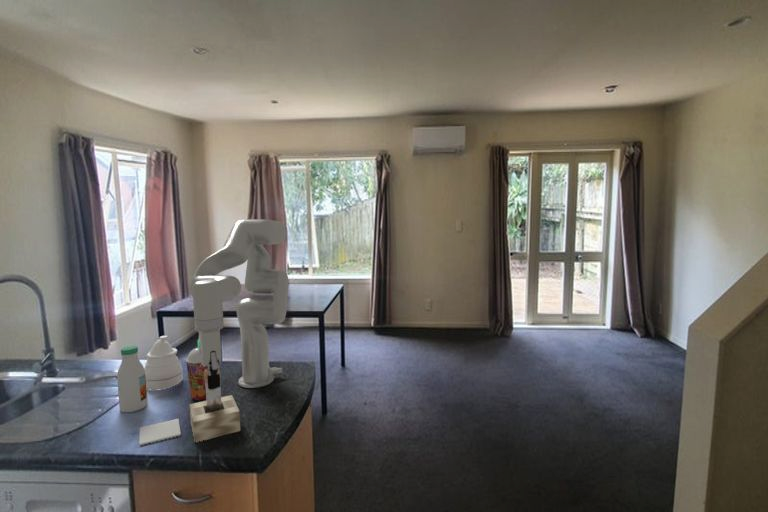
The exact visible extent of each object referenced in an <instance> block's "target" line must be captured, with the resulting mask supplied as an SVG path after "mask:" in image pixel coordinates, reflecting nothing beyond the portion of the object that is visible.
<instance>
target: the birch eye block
mask: <svg viewBox="0 0 768 512" xmlns="http://www.w3.org/2000/svg"><path fill="white" fill-rule="evenodd" d="M221 402H222V410H218V411H214V412H210V413H207V402H206V400H203V401H198V402H194V403H190V404H189V405H188V406H189V418H190V422H189V423H190V426H191V427H192V428H191V431H192V432H193V433H192V432H191V433H192V436H193V437H194V438H193V442H194V443H195V442H196V443H199V441H200V442H204V441H207V440H211V439H214V438H215V439H216V438H219V437H222V436H225V435H229V434H233V433H238V432H240V431H241V419H240V418H241V416H240V409H239V407H238V405H237V402H236V401H235V399H234V396H233V395H232V394H231V395H225V396H221ZM203 440H204V441H203Z"/></svg>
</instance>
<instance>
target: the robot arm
mask: <svg viewBox="0 0 768 512" xmlns="http://www.w3.org/2000/svg"><path fill="white" fill-rule="evenodd" d="M286 236H287V230H286V227H285V225H284V223H283V222H281V221H277V220H273V219H261V218H259V219H257V218H255V219H241V220H238V221H236V222H235V223H234V224H233V226H232V228H231V230H230V232H229V234H228V236H227V238H226V241H225V242H224V244H223V246H222V248H221V249H219V250H218V251H216V252H215V253H213V254H211V255H209V256H208V257H206V258H204V260H203V261H202V262H200V264H199V265H198V266H197V268H196V270H195V272H194V273H193V276H192V278H191V281H190V283H189V284H190V285H189V292H190V296H191V297H192V300H193V302H192V303H193V316H194V331H195V332H198V340H199V357H200V361H201V364H202V366H203V367H206V369H208V375H207V380H208V389H213V388H218V387H220V385H221V380H220V373H221V372H220V373H219V368H220V367H219V365H220V364H221V363H222V347H221V330H222V329H224V328H225V327H224V310H223V309H224V307H223V302H228V301H232V300H235V299H236V298H237V297H238V296H239V295H240V293H241V290H242V285H241V281H240V280H239V279H238V278H237V277H236V276H233V275H219V273H222V272H224V271H228V270H231V269H233V268H236V267H238V266H241V265H244V263H246V262H247V263H246V270H245V276H244V277H245V278H244V290H245V292H246V293H248V294H250V295H259V296H261V295H262V296H264V295H265V296H267V295H269V296H271V295H272V297H246V298H243V299H241V300H240V301H239V302H238V303H237V305H236V317H237V320H238V325H239V331H240V345H241V347H240V349H241V368H242V369H241V370H242V376H241V377H240V378H238V385H239V386H240V387H242V388H246V389H257V388H261V387H265V386H267V385H270V384H271V383H273V382H274V380H275V376H274V375H275V374H281V373H283V368H282V367H277V366H274V367H270V359H269V358H270V355H269V353H270V352H269V334H268V332H267V329H266V327H265V326H264V325H280V324H282V323H283V322H284V321H285V320H286V316H287V307H288V297H289V287H290V286H289V275H288V274H287V272H286V271H285V270H282V269H279V268H278V269H277V268H275V269H274V268H273V269H272V268H271V261H272V257H271V255H270V253H269V252H268V250H267V249H266V247H264V246H263V245H281V244H282V243H284V242H285V240H286V238H287V237H286ZM210 368H211V369H210ZM206 369H205V370H206Z"/></svg>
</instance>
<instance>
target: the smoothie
mask: <svg viewBox="0 0 768 512" xmlns="http://www.w3.org/2000/svg"><path fill="white" fill-rule="evenodd" d="M185 362H186V369H187V378H188V383H189V384H188V385H189V392H190V396H191V397H192V399H193V400H195V401H201V400H203V401H204V400H206V386H205V382H204V370H205V369H206V367H203V366H202V364H201V361H200V357H199V339H197V347H195V348H193V349H192V350H191V351H189V353H188V355H187V357H186V359H185Z"/></svg>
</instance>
